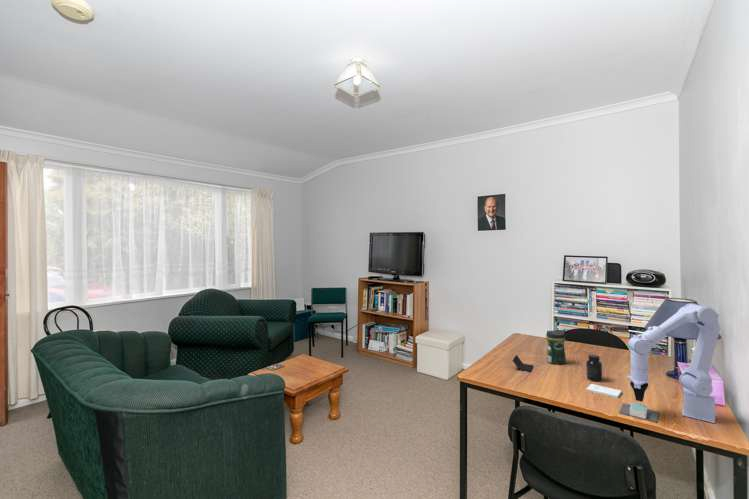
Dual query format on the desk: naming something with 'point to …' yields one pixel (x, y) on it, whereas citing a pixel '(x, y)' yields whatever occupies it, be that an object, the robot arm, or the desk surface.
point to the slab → (638, 410)
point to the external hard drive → (604, 390)
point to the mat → (650, 416)
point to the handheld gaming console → (522, 365)
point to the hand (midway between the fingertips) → (639, 400)
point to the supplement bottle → (594, 368)
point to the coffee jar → (556, 347)
